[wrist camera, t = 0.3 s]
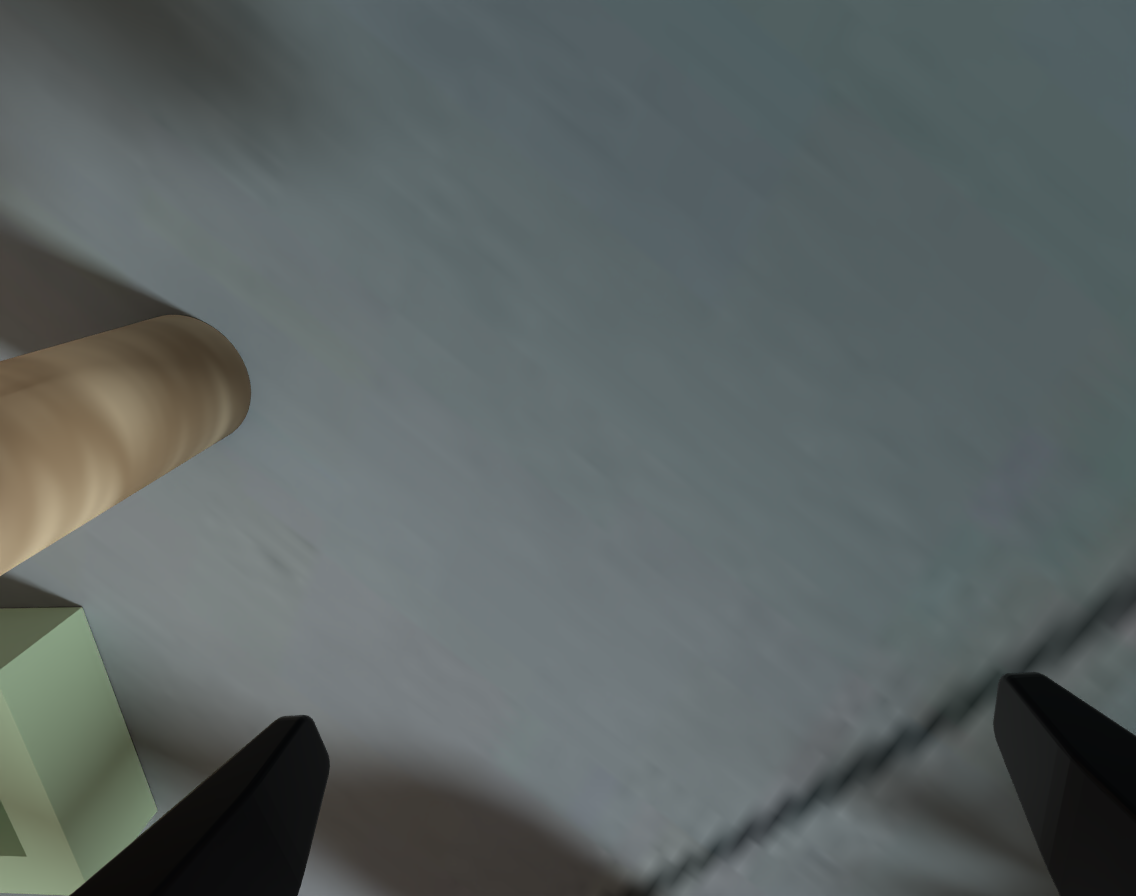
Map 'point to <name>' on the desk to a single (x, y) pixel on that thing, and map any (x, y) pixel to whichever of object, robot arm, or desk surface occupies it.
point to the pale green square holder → (62, 756)
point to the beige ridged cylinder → (108, 422)
